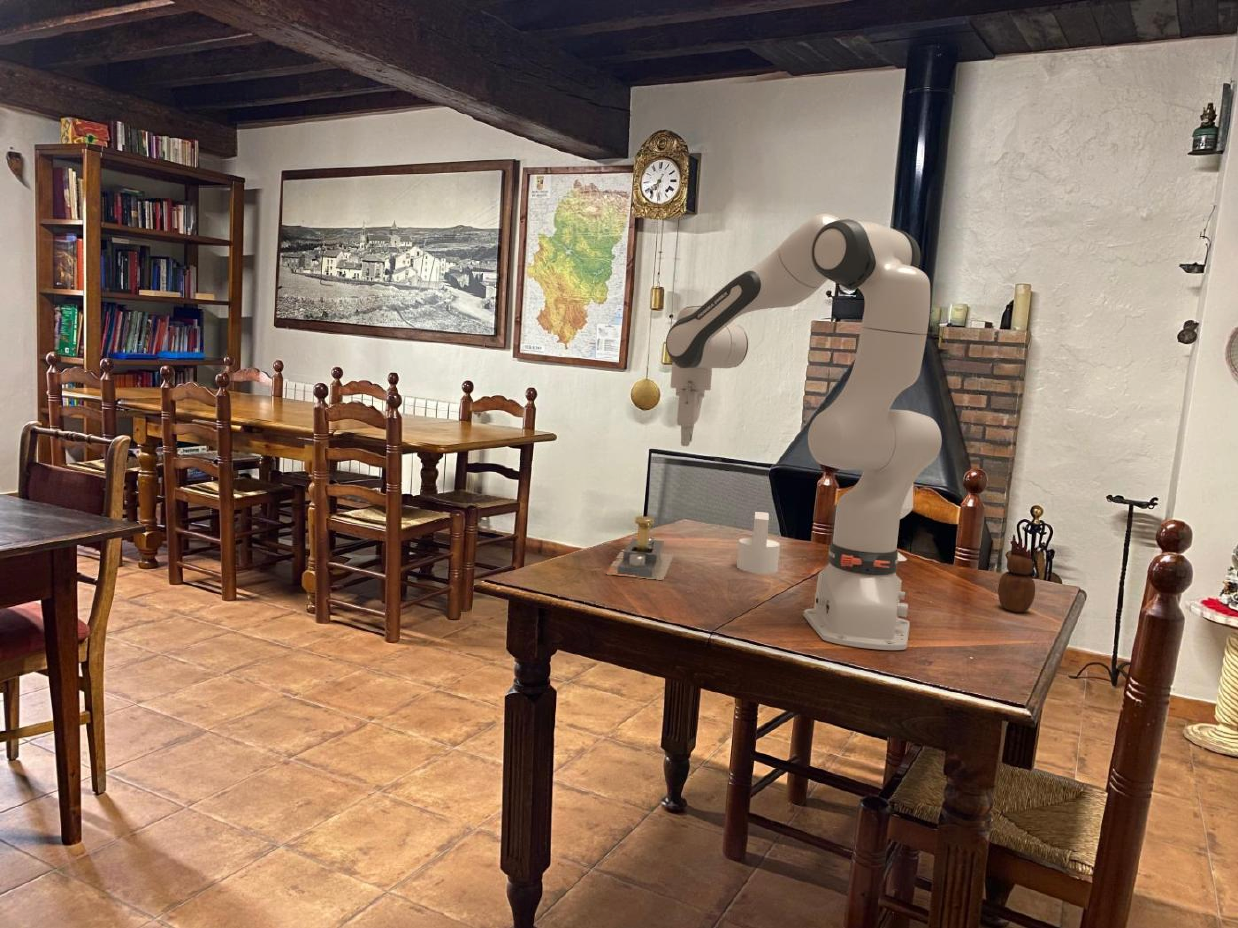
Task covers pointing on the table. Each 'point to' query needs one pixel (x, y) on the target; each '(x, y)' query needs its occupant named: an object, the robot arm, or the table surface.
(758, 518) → the cylinder with rectangular tab
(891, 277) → the robot arm
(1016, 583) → the wooden figurine
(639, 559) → the two-knob base plate
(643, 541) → the brass pin
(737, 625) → the table surface
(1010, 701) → the table surface
